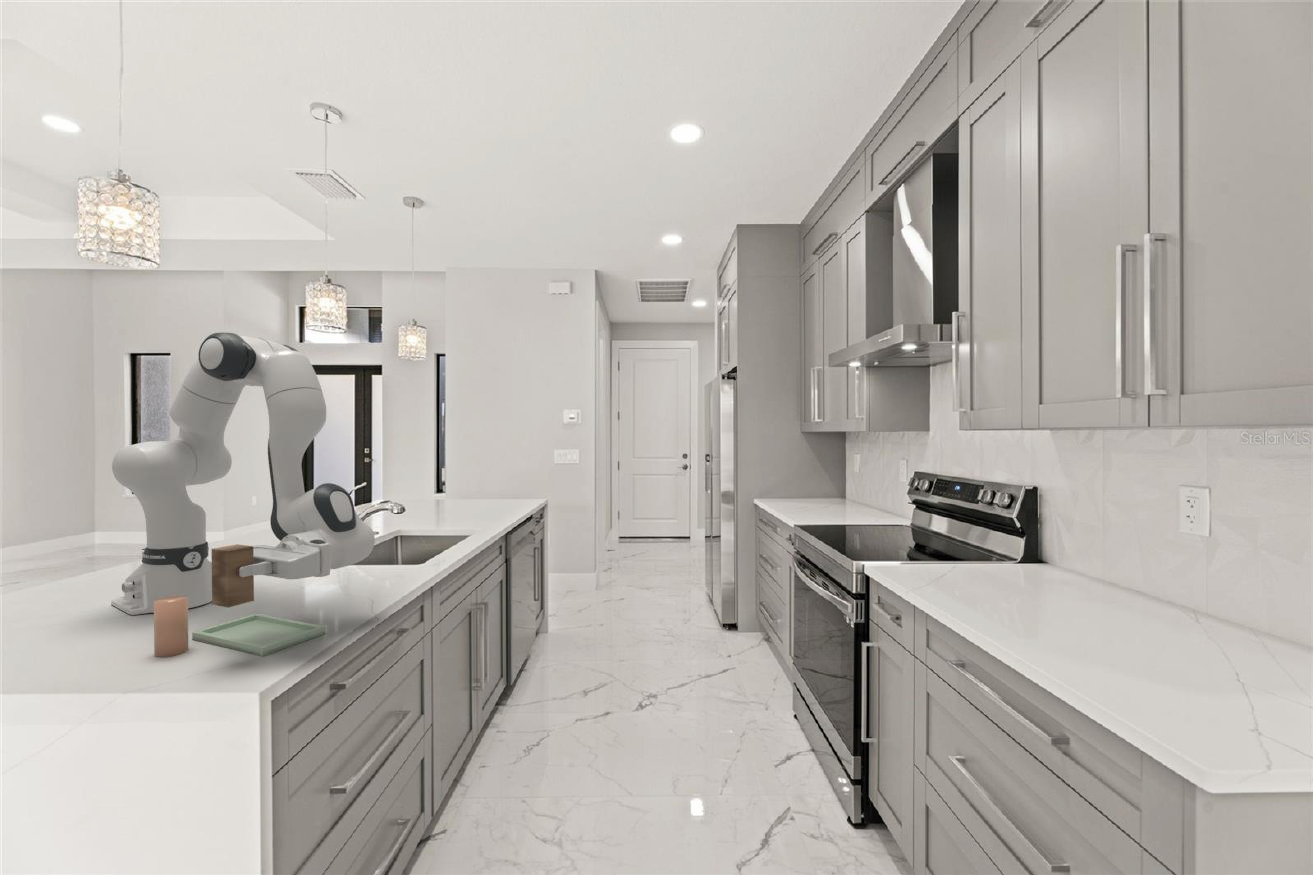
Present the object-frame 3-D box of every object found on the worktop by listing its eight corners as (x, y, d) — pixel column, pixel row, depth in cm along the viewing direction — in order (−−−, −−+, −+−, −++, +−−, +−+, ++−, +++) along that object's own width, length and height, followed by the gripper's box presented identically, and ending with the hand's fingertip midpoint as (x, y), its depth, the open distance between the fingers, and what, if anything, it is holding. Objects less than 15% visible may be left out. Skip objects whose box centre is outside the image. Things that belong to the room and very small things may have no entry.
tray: (192, 639, 120) (192, 632, 120) (257, 620, 132) (257, 613, 132) (262, 656, 112) (262, 648, 112) (325, 633, 124) (325, 626, 124)
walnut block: (212, 604, 108) (211, 548, 108) (237, 597, 112) (237, 544, 112) (228, 607, 107) (227, 551, 106) (253, 600, 111) (253, 546, 110)
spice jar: (148, 654, 112) (147, 601, 112) (178, 645, 117) (177, 594, 117) (164, 658, 110) (163, 604, 110) (194, 649, 115) (193, 597, 115)
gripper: (265, 535, 125) (191, 547, 113) (335, 544, 117) (265, 558, 105) (265, 565, 125) (192, 581, 113) (335, 576, 117) (265, 594, 105)
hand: (227, 570), depth 109 cm, fingers closed on walnut block, 4 cm apart
